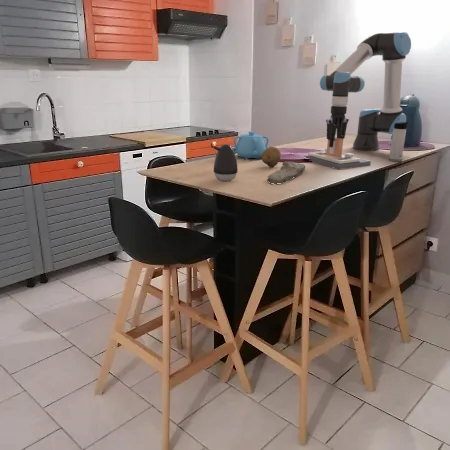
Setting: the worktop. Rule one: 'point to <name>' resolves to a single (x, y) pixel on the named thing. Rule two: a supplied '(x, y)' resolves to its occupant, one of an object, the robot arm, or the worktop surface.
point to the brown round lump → (271, 156)
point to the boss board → (337, 165)
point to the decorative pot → (250, 145)
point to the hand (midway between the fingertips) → (334, 153)
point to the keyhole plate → (334, 153)
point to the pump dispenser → (225, 163)
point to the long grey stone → (286, 172)
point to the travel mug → (398, 141)
